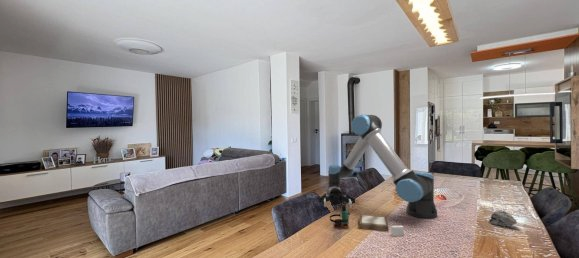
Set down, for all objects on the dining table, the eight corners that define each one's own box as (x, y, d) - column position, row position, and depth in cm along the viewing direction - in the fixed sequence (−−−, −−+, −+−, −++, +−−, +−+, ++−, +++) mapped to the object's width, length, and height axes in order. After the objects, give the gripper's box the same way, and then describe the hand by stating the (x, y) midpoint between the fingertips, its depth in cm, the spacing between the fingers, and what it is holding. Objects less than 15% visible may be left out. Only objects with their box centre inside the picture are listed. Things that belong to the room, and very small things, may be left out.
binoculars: (328, 202, 129) (348, 201, 127) (330, 223, 129) (350, 222, 127) (327, 208, 121) (348, 207, 119) (330, 230, 121) (351, 229, 119)
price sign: (402, 234, 114) (402, 225, 114) (403, 235, 112) (403, 227, 112) (391, 234, 114) (391, 225, 113) (392, 236, 112) (392, 227, 112)
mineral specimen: (502, 233, 124) (495, 233, 119) (489, 218, 130) (482, 217, 125) (522, 223, 120) (515, 222, 114) (507, 208, 125) (500, 206, 120)
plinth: (386, 221, 128) (386, 216, 128) (388, 231, 117) (388, 225, 117) (360, 219, 132) (359, 214, 132) (359, 228, 120) (359, 223, 120)
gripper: (356, 200, 153) (361, 212, 132) (315, 199, 156) (314, 211, 135) (356, 188, 153) (361, 198, 132) (314, 187, 156) (314, 197, 135)
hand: (337, 204), depth 134 cm, fingers open, 13 cm apart
